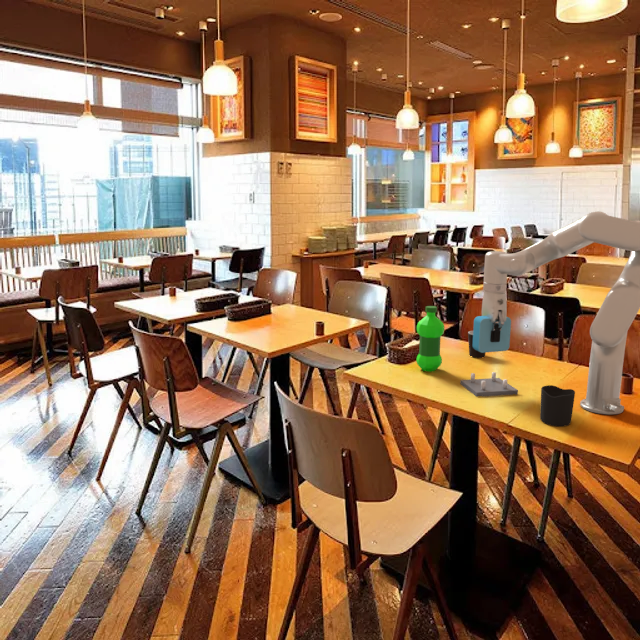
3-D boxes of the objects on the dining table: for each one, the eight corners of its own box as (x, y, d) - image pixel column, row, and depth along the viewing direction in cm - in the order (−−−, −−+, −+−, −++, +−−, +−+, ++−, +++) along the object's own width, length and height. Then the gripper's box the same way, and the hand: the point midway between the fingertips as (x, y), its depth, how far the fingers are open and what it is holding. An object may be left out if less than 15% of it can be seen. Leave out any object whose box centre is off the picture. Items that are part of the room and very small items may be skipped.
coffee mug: (474, 352, 258) (476, 329, 256) (491, 356, 252) (493, 333, 250) (458, 356, 251) (459, 333, 249) (475, 361, 244) (476, 337, 242)
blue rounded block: (502, 347, 210) (504, 314, 208) (509, 350, 206) (511, 316, 204) (471, 349, 207) (473, 316, 205) (478, 353, 203) (480, 318, 200)
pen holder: (561, 415, 185) (564, 384, 183) (578, 426, 176) (581, 394, 174) (533, 416, 184) (535, 386, 182) (548, 428, 175) (551, 396, 173)
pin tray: (517, 394, 204) (518, 381, 203) (476, 396, 202) (477, 384, 201) (498, 381, 218) (499, 370, 217) (460, 384, 215) (460, 372, 214)
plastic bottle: (443, 374, 227) (445, 309, 222) (415, 372, 228) (417, 309, 223) (441, 366, 237) (444, 305, 231) (415, 365, 238) (417, 304, 233)
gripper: (517, 291, 194) (513, 345, 198) (493, 284, 211) (490, 333, 215) (495, 292, 193) (492, 346, 197) (473, 284, 210) (470, 334, 213)
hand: (491, 339), depth 206 cm, fingers closed on blue rounded block, 4 cm apart
